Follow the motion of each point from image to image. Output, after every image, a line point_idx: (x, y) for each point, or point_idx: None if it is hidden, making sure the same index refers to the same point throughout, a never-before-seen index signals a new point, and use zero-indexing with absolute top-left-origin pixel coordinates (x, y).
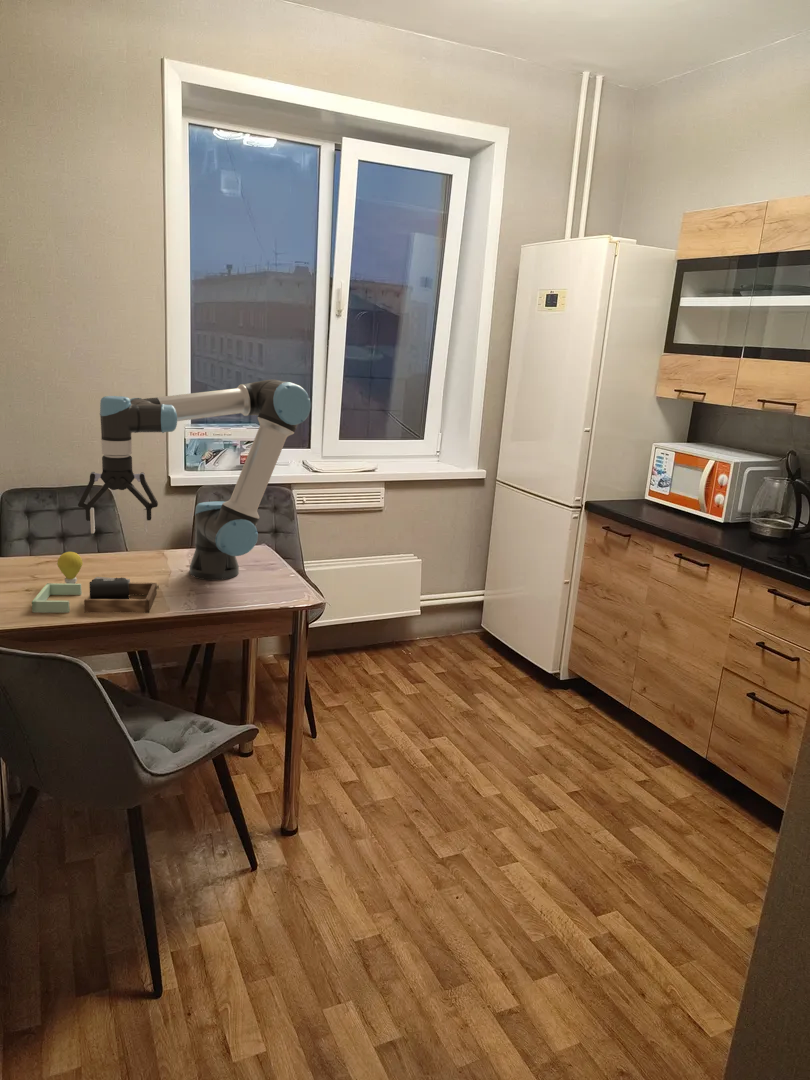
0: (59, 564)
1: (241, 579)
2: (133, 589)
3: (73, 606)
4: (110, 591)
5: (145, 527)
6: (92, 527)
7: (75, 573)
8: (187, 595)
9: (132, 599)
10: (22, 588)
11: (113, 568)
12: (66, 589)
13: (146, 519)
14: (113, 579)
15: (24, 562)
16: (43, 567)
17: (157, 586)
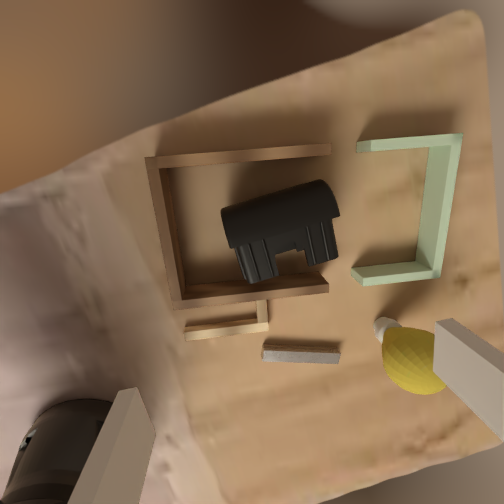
0: None
1: (9, 416)
2: (232, 287)
3: (353, 188)
4: (270, 197)
5: (113, 423)
6: (476, 344)
7: (387, 334)
8: (100, 296)
9: (197, 163)
10: (474, 290)
11: (315, 427)
12: (388, 269)
13: (70, 498)
14: (297, 353)
15: (483, 425)
16: (447, 407)
17: (186, 331)
